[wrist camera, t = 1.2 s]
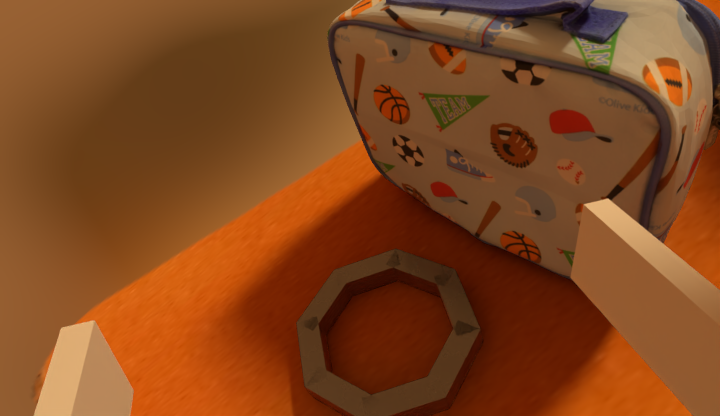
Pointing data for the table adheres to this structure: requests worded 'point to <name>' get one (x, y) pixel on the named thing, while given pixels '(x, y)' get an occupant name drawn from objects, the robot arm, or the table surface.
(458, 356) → the ring
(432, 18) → the lunch box
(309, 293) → the table surface
